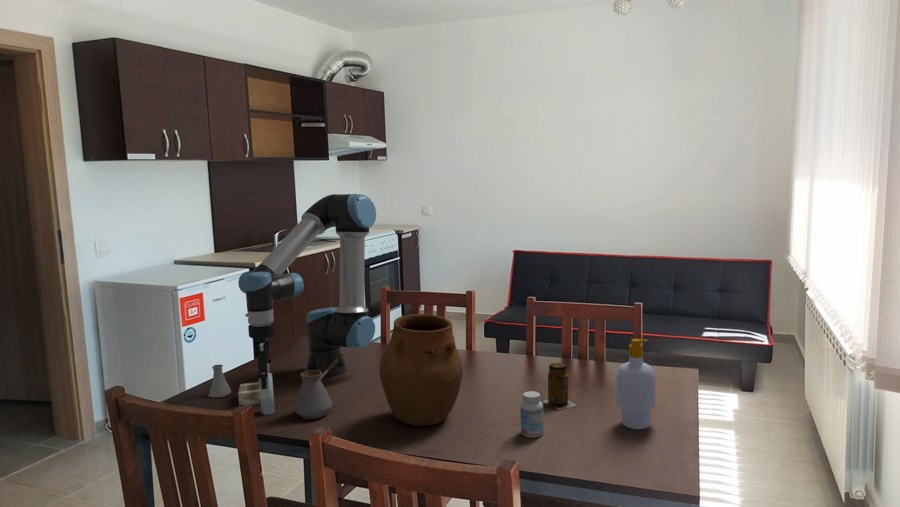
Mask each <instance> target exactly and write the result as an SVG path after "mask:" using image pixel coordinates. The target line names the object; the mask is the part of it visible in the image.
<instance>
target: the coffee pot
mask: <svg viewBox="0 0 900 507" xmlns="http://www.w3.org/2000/svg"><path fill="white" fill-rule="evenodd" d="M343 355H344V358H343ZM341 357H342V358H343V359H345V360H346V359H348V356H347V355H346V354H344V353H343V354H341V355H340V356H339V357H337V359H336V360H335V361H334V362H333V363H332V364H331V365H330V366H329V367H328V368H327V370H326V371H325V372H324V373H323V374H322V372H321V371H318V370H311V371H305V370H304V371H302V372H301V373H300V374H299V375H300V377H301V380H302V382H301V386H300V388H299V392H298V394H297V397H296V400H295V403H294V405H293V410H294V412H295V413H296V414H297V415H298V416H300V417H301V418H303V419H304V420H305V419H306V420H315V419H316V420H317V419H321V418H323V417H325V416H326V415H327V414H328V413H329V412H330V411H331V409H332V406H333V400H332V399H331V397H330V396H329V393H328V391H327V390H326V388H325V386H324V384H323V382H322V379H323V378H324V376H325V375H326V374H327V372H329V371H330V370H331V369H332V368H333V367H334V366H335V365H336V364H337V362H338V361H339V360H341ZM345 357H346V358H345ZM321 374H322V375H321Z"/></svg>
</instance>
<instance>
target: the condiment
mask: <svg viewBox="0 0 900 507" xmlns="http://www.w3.org/2000/svg"><path fill="white" fill-rule="evenodd" d="M567 368H568V367H567V365H566V364H565V363H562V362H553V363H550V364H549V365H548V371H549V372H548V374H547V399H545V400H542V401H541V402H542V403H543V404H546V405H547V406H550V407H551V408H554V409H556V410H558V411H559V410H564V409H569V408H573V407H577V406H578V404H576V403H574V402H572V401H570V400H569V374H568V373H567Z"/></svg>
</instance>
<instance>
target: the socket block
mask: <svg viewBox="0 0 900 507" xmlns="http://www.w3.org/2000/svg"><path fill="white" fill-rule="evenodd" d="M237 396H238V397H237V398H238V406H239V407H241V406H240V405H245V406H252V405H259V404H260V390H259V381H257V382H256V381H255V382H247V383H240V384H239V389H238V394H237ZM260 405H261V404H260Z"/></svg>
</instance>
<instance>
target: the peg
mask: <svg viewBox="0 0 900 507" xmlns="http://www.w3.org/2000/svg"><path fill="white" fill-rule="evenodd" d="M262 374H264V373H262ZM268 379H269V394H270V399H262V400H260V403H261V404H260V412H261V413H262V414H264V415H263V416H269V415H268V414H270V415H273V414H274V412H275V413H276V409H275V397H274V394H275V393H274V385H273V374H272V373H271V372H270V373H268ZM259 390H260V389H259ZM272 413H273V414H272ZM262 414H261V415H262Z"/></svg>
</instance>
